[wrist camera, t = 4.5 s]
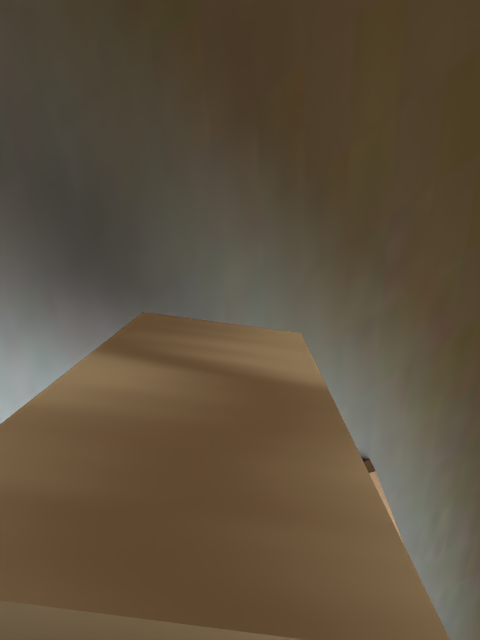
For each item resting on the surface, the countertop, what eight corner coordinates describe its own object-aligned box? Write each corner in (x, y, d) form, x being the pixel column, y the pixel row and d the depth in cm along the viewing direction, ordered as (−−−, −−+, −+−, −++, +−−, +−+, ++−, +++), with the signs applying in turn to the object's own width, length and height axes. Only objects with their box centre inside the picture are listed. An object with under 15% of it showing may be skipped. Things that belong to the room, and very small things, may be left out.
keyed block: (126, 518, 12) (-171, 1216, 3) (143, 312, 10) (-272, 639, 2) (266, 536, 12) (305, 1271, 3) (300, 333, 10) (496, 738, 2)
